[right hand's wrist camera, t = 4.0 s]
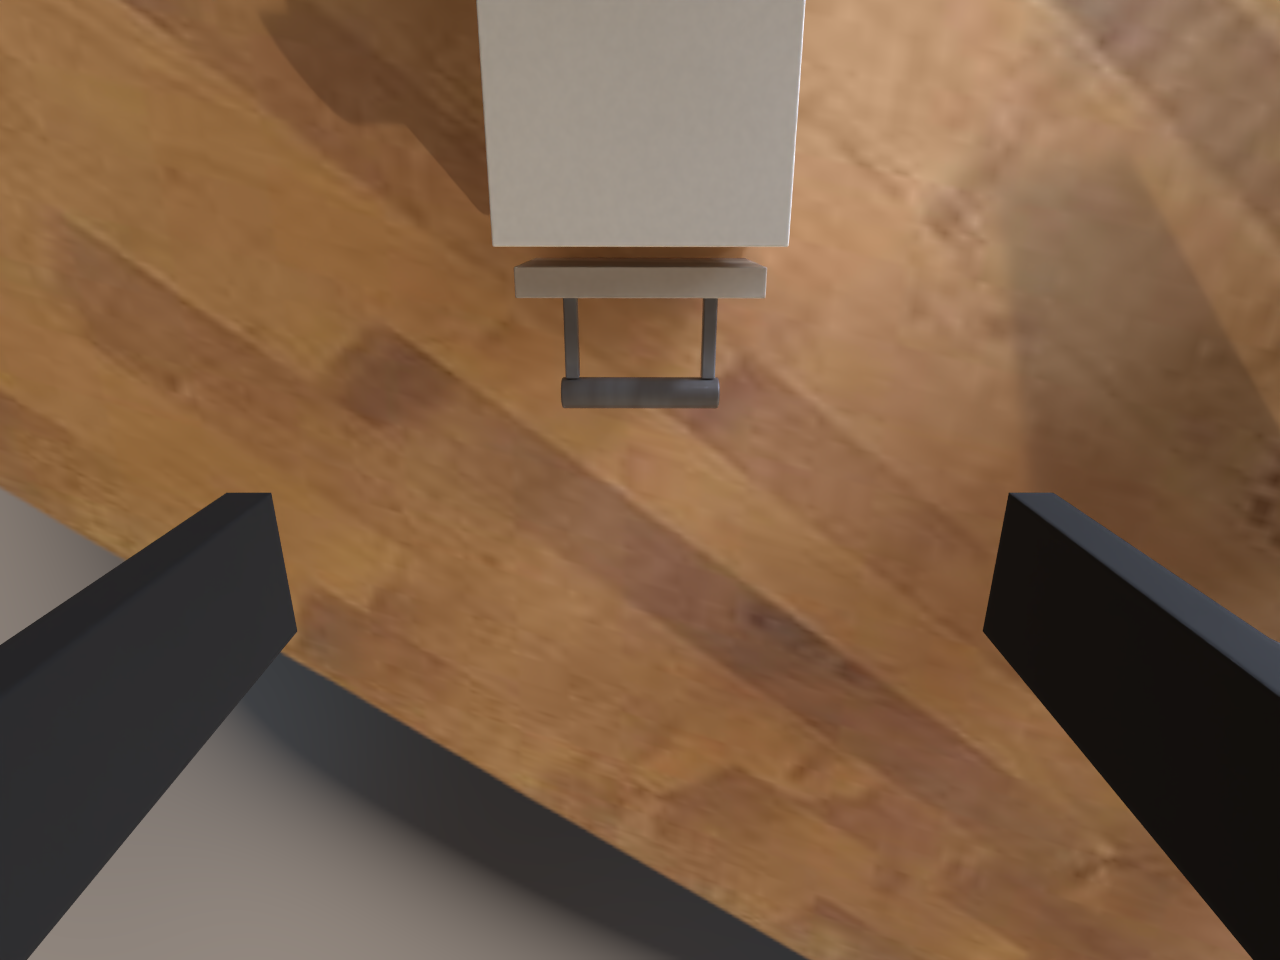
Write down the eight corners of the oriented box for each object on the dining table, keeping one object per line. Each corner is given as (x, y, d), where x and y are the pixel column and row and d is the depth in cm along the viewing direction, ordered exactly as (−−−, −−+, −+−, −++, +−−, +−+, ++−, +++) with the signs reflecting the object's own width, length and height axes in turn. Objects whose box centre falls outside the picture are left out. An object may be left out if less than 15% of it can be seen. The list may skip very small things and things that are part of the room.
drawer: (739, 390, 37) (758, 423, 31) (541, 390, 37) (522, 423, 31) (770, -244, 28) (805, -365, 22) (511, -245, 28) (477, -366, 22)
